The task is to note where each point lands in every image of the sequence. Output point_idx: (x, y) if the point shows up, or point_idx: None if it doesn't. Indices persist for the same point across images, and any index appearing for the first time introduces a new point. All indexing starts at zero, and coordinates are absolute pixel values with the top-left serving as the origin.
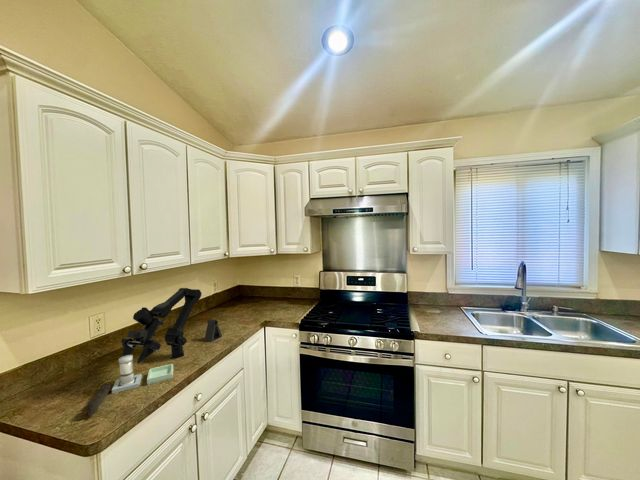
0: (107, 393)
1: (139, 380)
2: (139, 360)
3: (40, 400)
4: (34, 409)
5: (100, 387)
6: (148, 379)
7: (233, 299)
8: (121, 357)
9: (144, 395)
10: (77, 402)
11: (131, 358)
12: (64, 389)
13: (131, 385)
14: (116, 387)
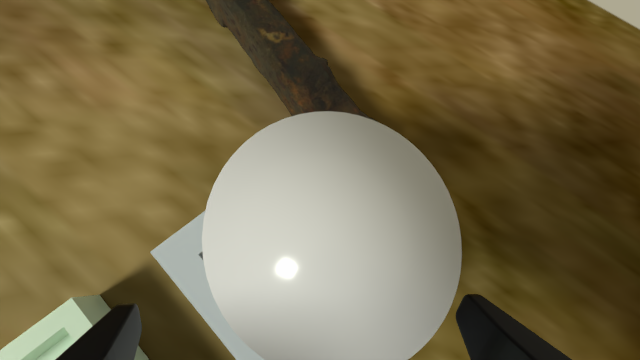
0: None
1: (188, 298)
2: (80, 349)
3: (578, 67)
4: (518, 17)
5: (373, 119)
6: (58, 307)
7: None
8: (433, 213)
9: (3, 165)
10: (400, 66)
11: (206, 260)
12: (598, 150)
13: (196, 218)
14: None
